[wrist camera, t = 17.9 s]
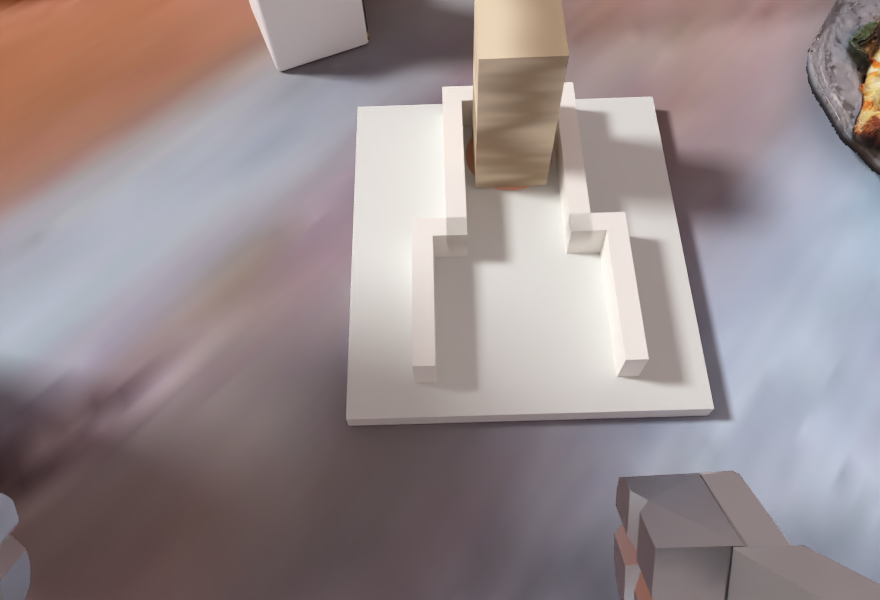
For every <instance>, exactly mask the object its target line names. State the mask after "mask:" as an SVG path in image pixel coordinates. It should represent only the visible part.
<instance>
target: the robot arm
mask: <svg viewBox="0 0 880 600" xmlns="http://www.w3.org/2000/svg"><path fill="white" fill-rule="evenodd" d="M616 507H617V509H618V512H619V515H620V518H621V520H622V523H623V525H622V526H621V527H620V528H619V529H618V530H617V532H616V533H615V534H614V561H615V573H616V581H617V585H618V590H619V594H620V598H621V600H880V585H879V584H877V583H875V582H874V581H872V580H870V579H868V578H866V577H864V576H862V575H860V574H858V573H856V572H854V571H852V570H850V569H848V568H846V567H845V566H843V565H841V564H839V563H837V562H835V561H833V560H831V559H829V558H827V557H825V556H823V555H821V554H819V553H817V552H815V551H814V550H812V549H810V548H808V547H806V546H804V545H800V546H791V544H790V543H789V541H788V540H787V539H786V537H785V536H784V535H783V533H782V532H781V531H780V529H779V528H778V526H777V525H776V524H775V522H774V521H773V520H772V518H771V517H770V515H769V514H768V513H767V511H766V510H765V509H764V507H763V506H762V504H761V503H760V502H759V500H758V499H757V498H756V496H755V495H754V493H753V492H752V491H751V489H750V488H749V487H748V485H747V484H746V482H745V481H744V480H743V478H742V477H741V476H740V474H738V473H736V472H734V471H721V472H706V473H692V474H674V475H655V476H636V477H619V481H618V486H617V495H616ZM18 523H19V518H18V515H17V512H16V508H15V505H14V502H13V500H12V499H11V498H9V497H8V496H6V495H4V494H3V493H0V600H25V598H26V595H27V592H28V589H29V586H30V561H29V557H28V553H27V549H26V548H25V547H23V546H22V545H21V544H20V543H19V542H18V541H17V540H16V539H15V538H14V537H13V536H12V534H13V532H14V530H15V528H16V527H17V525H18Z"/></svg>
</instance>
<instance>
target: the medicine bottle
mask: <svg viewBox="0 0 880 600" xmlns="http://www.w3.org/2000/svg"><path fill="white" fill-rule="evenodd" d="M249 2H250V5H251V9H252V11H253V14H254V16H255V18H256V21H257V23H258V25H259V28H260V30H261V33H262V35H263V37H264V40H265V42H266V44H267V47H268V49H269V52H270V54H271V56H272V59H273V61H274V63H275V66H276V68H277V69H278V70H279V71H284V70H287V69H290V68H294V67H297V66H300V65H303V64H306V63H309V62H312V61H315V60H318V59H321V58H325V57H328V56H331V55H334V54H337V53H340V52H343V51H346V50H349V49H353V48H356V47H359V46H362V45H365V44H367V43H368V42H369V35H368V29H367V22H366V15H365V9H364V2H363V0H249Z"/></svg>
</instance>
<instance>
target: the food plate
mask: <svg viewBox="0 0 880 600" xmlns="http://www.w3.org/2000/svg"><path fill="white" fill-rule="evenodd" d="M815 39H816V40H815ZM815 39H814V40H815V41H813V43H812V46H813V48H811V49H813V50H812V51H810V48H809V50H808V52H809V53H808V56H807V57H809V58H808V60H807V65H808V66H806V68H807V69H806V70H807V74H808V82H809V84H810V87H811V89H812V94H814V95H815V97H816V100H817V101H819V102H820V104H819V105H820V106H821V107H822V108H823V110H824V112H825V113H826V116H827V117H828V119H829V120H830V122H831V123H832V127H834V128H835V129H834V130H836V134H839V135H838V136H839V137H840V139H841V141H843V143H845V145H847V146H849V148H851V149H852V150H853V151H854V152H855V153H858V155H859V156H861V158H862V159H863V160H864V162H865V163H866V164H868V166H869V168H871V170H872V171H875V172H876V173H877V174H880V0H836V2H835V4H834V6H833V7H832V9H831V11H830V12H829V15H828V17H827V18H826V20H825V22H824V23H823V25H822V27H821V30H820V32H818V34H817V36H816V38H815Z"/></svg>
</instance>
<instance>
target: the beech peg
mask: <svg viewBox="0 0 880 600" xmlns="http://www.w3.org/2000/svg"><path fill="white" fill-rule="evenodd" d="M568 58H569V53H568V45H567V38H566V31H565V24H564V16H563V9H562V2H561V0H475V6H474V61H473V115H472V137H473V156H474V174H475V188H486V187H513V186H542V185H546V184H547V178H548V172H549V167H550V161H551V155H552V149H553V144H554V138H555V132H556V127H557V121H558V115H559V110H560V104H561V98H562V92H563V87H564V81H565V75H566V70H567V64H568Z"/></svg>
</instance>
